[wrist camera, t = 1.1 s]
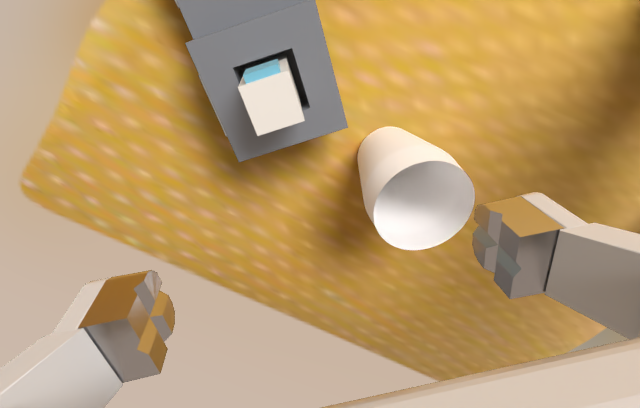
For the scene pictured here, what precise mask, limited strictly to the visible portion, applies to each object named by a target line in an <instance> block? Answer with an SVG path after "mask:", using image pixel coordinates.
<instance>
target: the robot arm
mask: <svg viewBox="0 0 640 408" xmlns="http://www.w3.org/2000/svg"><path fill="white" fill-rule="evenodd" d="M474 220H475V221H476V222H477V223H478V224H479V226H478V228H477V229H476V230H475V231H474V233H473V242H472V245H473V249H474V253H475V256H476V258H477V260H478V261H479V263H480V264H481V265H482V267H483V268H484V269H487V270H489V271H491V272H494V273H495V275H494V281H495V282H496V283H497V285H498V286H499V287H500V288H501V289H502V290H503V292H504V293H505V294H506V295H507V296H508V298H509V299H513V298H519V297H524V296H530V295H535V294H540V293H545V295H547V296H549V297H551V298H552V299H554V300H556V301H558V302H560V303H562V304H564V305H566V306H568V307H570V308H571V309H573V310H575V311H577V312H579V313H581V314H583V315H585V316H587V317H588V318H590V319H592V320H594V321H596V322H598V323H600V324H602V325H604V326H605V327H607V328H609V329H611V330H613V331H615V332H617V333H619V334H621V335H622V336H624V337H627V338H628V339H629V340H624V341H620V342H616V343H611V344H607V345H602V346H597V347H593V348H588V349H584V350H579V351H575V352H570V353H566V354H561V355H556V356H552V357H547V358H543V359H538V360H534V361H529V362H525V363H520V364H516V365H511V366H507V367H502V368H498V369H493V370H489V371H484V372H480V373H475V374H471V375H466V376H462V377H457V378H453V379H448V380H444V381H439V382H435V383H430V384H426V385H421V386H417V387H412V388H408V389H403V390H399V391H394V392H390V393H385V394H381V395H377V396H372V397H367V398H363V399H358V400H354V401H349V402H345V403H340V404H336V405H331V406H327V407H322V408H640V234H638V233H634V232H630V231H626V230H622V229H618V228H614V227H610V226H606V225H602V224H598V223H591V224H588V223H586V222H585V221H583V220H581V219H580V218H578V217H577V216H575V215H574V214H572V213H571V212H569V211H568V210H566V209H565V208H563V207H562V206H560V205H559V204H557V203H556V202H554V201H553V200H551V199H550V198H548V197H547V196H545V195H544V194H542V193H539V192H533V193H528V194H524V195H520V196H516V197H513V198H508V199H504V200H499V201H494V202H490V203H485V204H480V205H477V207H476V209H475V215H474ZM161 285H162V281H161V279H160V278H159V276H158V274H157V272H155V271H152V270H149V271H144V272H138V273H133V274H128V275H122V276H116V277H111V278H105V279H100V280H96V281H91V282H89V283H87V284H85V285H84V286H83V288H82V289H81V291H80V292H79V294H78V295H77V297H76V298H75V300H74V301H73V303H72V304H71V306H70V307H69V309H68V310H67V312H66V313H65V315H64V316H63V318H62V319H61V321H60V322H59V324H58V325H57V327H56V328H55V330H54V331H53V333H52V334H51V335H47V336H43V337H42V338H41V339H40V340H38V341H37V342H35V343H34V344H33V345H31V346H30V347H29V348H27V349H26V350H24V351H23V352H22V353H20V354H19V355H18V356H16V357H15V358H14V359H12V360H11V361H10V362H8V363H7V364H6V365H4V366H3V367H1V368H0V408H104V407H105V406H106V405H107V404H108V403H109V401H110V400H111V399H112V398H113V396H114V395H115V394H116V393H117V392H118V390H119V389H120V388H121V387H122V385H123V383H124V382H128V381H132V380H136V379H140V378H144V377H148V376H152V375H157V374H160V373H161V370H162V366H163V363H164V359H165V356H166V353H167V347H166V345H165V343H164V341H165V340H166V339H167V338H168V337H169V336H170V335H171V334H172V331H173V328H174V324H175V311H174V307H173V304H172V301H171V299H170V297H169V296H168V295H167V294H165V293H163V292H161V291H160V287H161Z"/></svg>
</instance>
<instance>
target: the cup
mask: <svg viewBox="0 0 640 408" xmlns="http://www.w3.org/2000/svg"><path fill="white" fill-rule="evenodd" d="M357 160H358V167H359V174H360V180H361V187H362V194H363V200H364V205H365V209H366V211H367V214H368V216H369V217H370V219H371V221H372V222H373V224H374V226H375V228H376V229H377V231H378V233H379V234H380V236H381V237H382V238H383V239H384V240H385V241H386V242H387V243H389V244H391V245H392V246H395V247H397V248H400V249H405V250H422V249H427V248H431V247H434V246H437V245H439V244H441V243H443V242H445V241H447V240H448V239H450V238H451V237H452V236H454V235H455V234H456V233H457V232H458V231H459V230H460V229H461V228H462V227H463V226H464V224H465V223H466V222H467V220H468V218H469V217H470V214H471V212H472V210H473V206H474V201H475V191H474V186H473V183H472V181H471V179H470V178H469V176H468V175H467V174H466V172H465V171H464V170H463V169H462V168H461V167H460V166H459V165H458V164H457V162H456V161H455V160H454V159H453V158H452V157H451V156H450V155H449V154H448V153H446V152H445V151H444V150H442V149H440V148H438V147H436V146H434V145H432V144H430V143H428V142H426V141H424V140H422V139H421V138H419V137H417V136H415V135H413V134H411V133H409V132H407V131H405V130H403V129H401V128H398V127H383V128H380V129H377V130H375V131H373V132H372V133H370V134H369V135H368V136H367V137H366V138H365V139H364V140H363V142H362V143H361V145H360V148H359V150H358V156H357Z"/></svg>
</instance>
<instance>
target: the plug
mask: <svg viewBox="0 0 640 408" xmlns="http://www.w3.org/2000/svg"><path fill="white" fill-rule="evenodd" d="M238 89H239V92H240V94H241V96H242V99H243V101H244V104H245V106H246V109H247V111H248V114H249V116H250V119H251V121H252V124H253V126H254V129H255V131H256V134H257V136H260V135H263V134H266V133H269V132H272V131H275V130H278V129H281V128H284V127H288V126H291V125H294V124H297V123H300V122H303V121H305V120H304V115H303V111H302V107H301V102H300V98H299V94H298V90H297V87H296V84H295V81H294V78H293V75H292V71H291V68H290V65H289V62H288V59H287V56H286V53H283V54H280V55H277V56H274V57H271V58H268V59H265V60H262V61H259V62H256V63H253V64H250V65H248V66H247V68H246V70H245V72H244V74H243V77H242V79H241V81H240V84H239V86H238Z"/></svg>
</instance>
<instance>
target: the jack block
mask: <svg viewBox="0 0 640 408" xmlns="http://www.w3.org/2000/svg"><path fill="white" fill-rule="evenodd" d="M175 2H176V4H177V7H179V8H180V10H181V12H182V15H183V17H184V19H185V22H186V24H187V26H188V28H189V31H190V33H191V35H192V37H193V40H191V41H189V42H187V43H185V44H186V46H187V49H188V51H189V53H190V55H191V58H192V60H193V62H194V64H195V66H196V69H197V71H198V73H199V78H200V80H201V83H202V85H203V87H204V89H205V91H206V94H207V96H208V98H209V100H210V102H211V105H212V107H213V109H214V111H215V113H216V116H217V118H218V120H219V122H220V124H221V127H222V129H223V131H224V133H225V135H226V136H227V137H228V139H229V141H230V144H231V146H232V148H233V150H234V153H235V155H236V157H237V159H238V161H239V162H242V161H245V160H248V159H251V158H254V157H257V156H260V155H263V154H267V153H270V152H273V151H276V150H279V149H282V148H285V147H288V146H292V145H295V144H298V143H301V142H304V141H307V140H310V139H314V138H317V137H320V136H323V135H326V134H329V133H332V132H335V131H339V130H342V129H345V128H348V126H347V122H346V118H345V114H344V110H343V106H342V102H341V99H340V95H339V91H338V87H337V83H336V79H335V75H334V72H333V68H332V64H331V60H330V56H329V52H328V48H327V45H326V41H325V37H324V33H323V29H322V25H321V21H320V18H319V14H318V10H317V6H316V2H315V0H175ZM283 53H286V56H287V59H288V62H289V65H290V68H291V71H292V75H293V78H294V81H295V84H296V87H297V90H298V94H299V98H300V102H301V107H302V111H303V115H304V120H305V121H303V122H300V123H297V124H294V125H291V126H288V127H284V128H281V129H278V130H275V131H272V132H269V133H266V134H263V135H260V136H257V134H256V131H255V129H254V126H253V124H252V121H251V119H250V116H249V114H248V111H247V109H246V106H245V104H244V101H243V99H242V96H241V94H240V92H239V89H238V86H239V84H240V81H241V79H242V77H243V74H244V72H245V70H246V68H247V66H248V65H250V64H253V63H256V62H259V61H262V60H265V59H268V58H271V57H274V56H277V55H280V54H283Z"/></svg>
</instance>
